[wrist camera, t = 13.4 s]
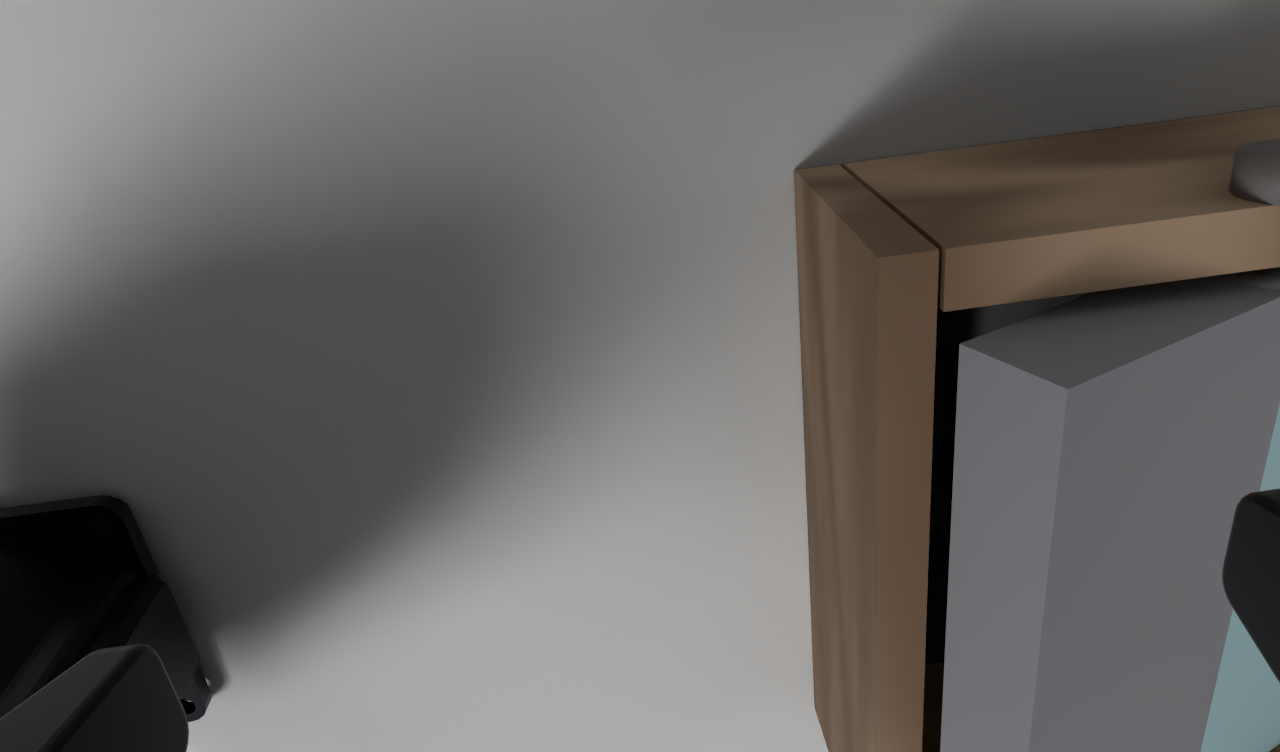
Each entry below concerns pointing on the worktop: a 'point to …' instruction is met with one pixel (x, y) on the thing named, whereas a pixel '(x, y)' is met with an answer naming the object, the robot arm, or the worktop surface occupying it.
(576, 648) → the worktop surface
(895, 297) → the walnut stand
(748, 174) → the worktop surface
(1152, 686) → the trapdoor flap
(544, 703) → the worktop surface
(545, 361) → the worktop surface
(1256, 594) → the robot arm
